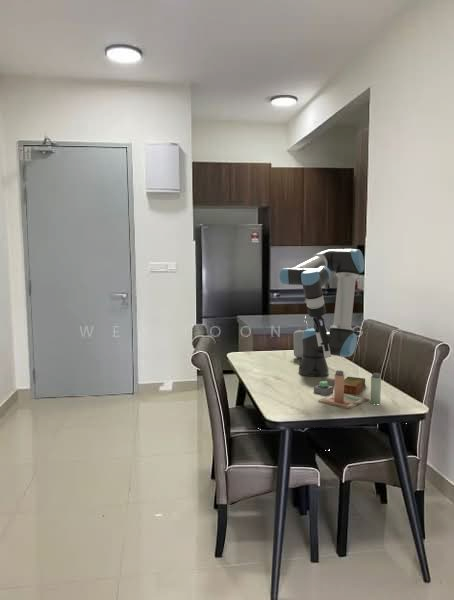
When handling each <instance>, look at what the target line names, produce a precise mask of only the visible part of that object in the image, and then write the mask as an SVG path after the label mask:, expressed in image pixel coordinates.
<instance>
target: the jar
mask: <svg viewBox="0 0 454 600" xmlns="http://www.w3.org/2000/svg"><path fill="white" fill-rule="evenodd" d="M306 318H307V317H306V315H305V317H304V319H306ZM305 323H306V324H308V323H307V321H306V322H305ZM311 328H314V326H313V327H312V326H309V327H308V326H303V327H297V330H295V331H294V332H293V335H292V337H293V339H292V340H293V355H294V357H295V358H299V359H300V358H301V359H302V338H303V331H304V330H306V329H311Z"/></svg>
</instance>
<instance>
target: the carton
mask: <svg viewBox="0 0 454 600" xmlns="http://www.w3.org/2000/svg"><path fill="white" fill-rule="evenodd" d="M365 387H366V378H364V377H356V376H347V377H346V378H344V393H345V394H349V395H354V396H357V395H359V393H360V392H362V391H363V389H364V388H365Z"/></svg>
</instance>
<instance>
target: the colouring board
mask: <svg viewBox="0 0 454 600" xmlns="http://www.w3.org/2000/svg"><path fill="white" fill-rule="evenodd" d="M368 401H370V400H369V398H365V397H361V396H357V395H352V394H345V393H344V402H342V403H338V402H335V401H334V393H333V394H331V395H328V396H325V397H323V398H321V399H319V400H318V403H322V404H326V405H329V406H334V407H337V408H342V409H345V410H352V409H353V408H355V407H358V406H360V405H361V404H363V403H366V402H368Z"/></svg>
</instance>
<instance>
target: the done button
mask: <svg viewBox="0 0 454 600" xmlns="http://www.w3.org/2000/svg"><path fill="white" fill-rule="evenodd" d="M319 385H320V387H321V388H327V385H328V381H325V380H320V381H319Z"/></svg>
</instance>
